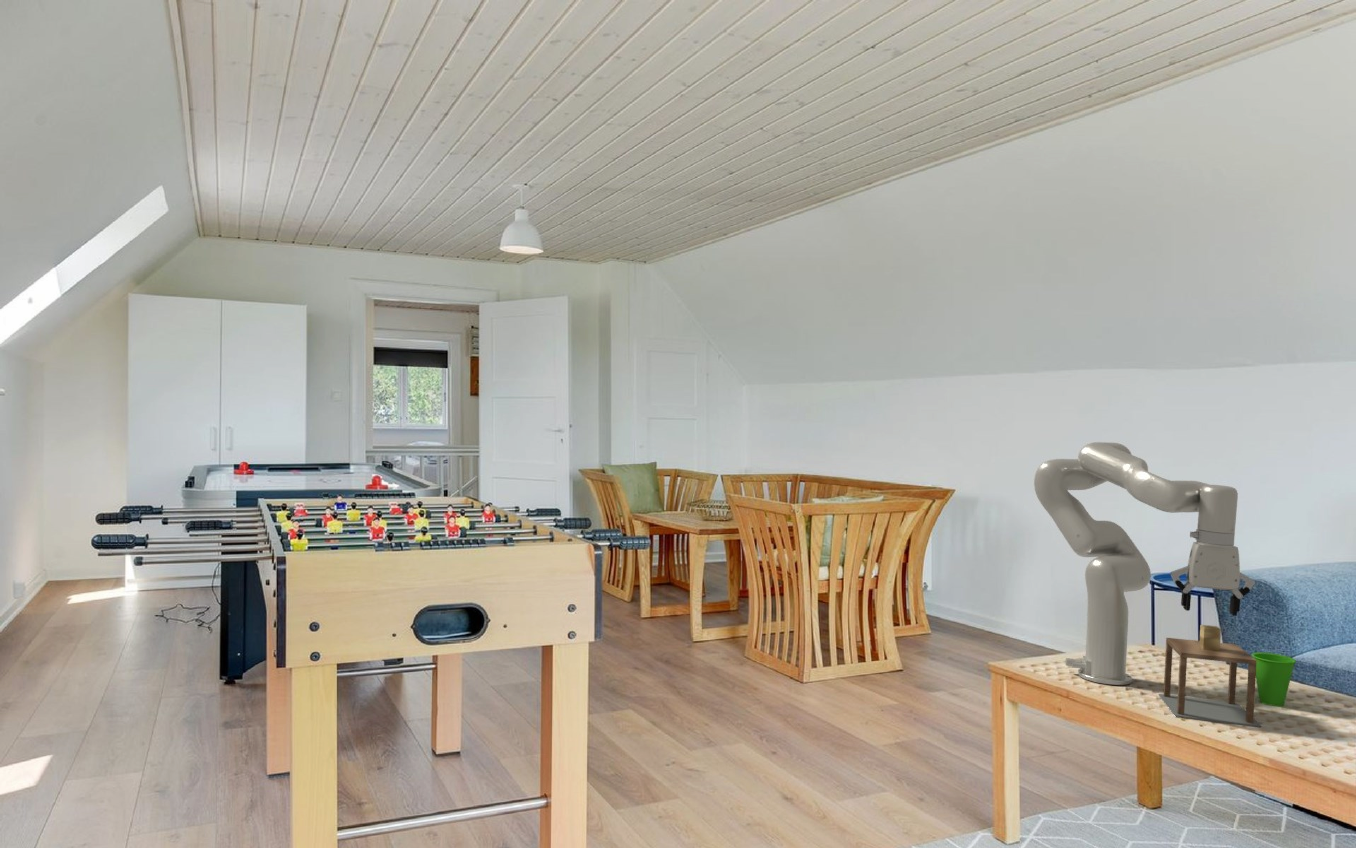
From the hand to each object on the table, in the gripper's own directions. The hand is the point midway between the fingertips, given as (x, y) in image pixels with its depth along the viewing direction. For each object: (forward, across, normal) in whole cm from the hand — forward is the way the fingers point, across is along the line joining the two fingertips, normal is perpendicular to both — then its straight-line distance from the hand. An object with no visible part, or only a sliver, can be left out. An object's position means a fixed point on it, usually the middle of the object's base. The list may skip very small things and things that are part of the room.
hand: (1209, 612), depth 214 cm
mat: (+23, +1, -1) cm, 23 cm away
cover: (+22, +1, -1) cm, 22 cm away
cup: (+23, +18, +13) cm, 32 cm away
